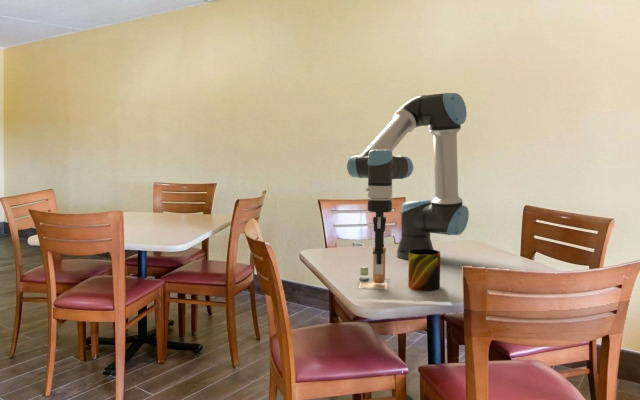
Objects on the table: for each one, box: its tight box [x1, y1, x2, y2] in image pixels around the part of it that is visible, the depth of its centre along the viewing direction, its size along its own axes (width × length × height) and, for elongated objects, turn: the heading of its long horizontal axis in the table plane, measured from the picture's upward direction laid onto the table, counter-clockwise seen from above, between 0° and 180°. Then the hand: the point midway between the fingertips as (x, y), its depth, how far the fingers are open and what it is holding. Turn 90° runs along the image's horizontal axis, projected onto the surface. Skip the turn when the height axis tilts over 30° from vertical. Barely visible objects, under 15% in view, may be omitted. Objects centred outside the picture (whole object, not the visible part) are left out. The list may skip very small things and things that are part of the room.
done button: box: [359, 265, 369, 276], centre depth 162 cm, size 3×3×2 cm
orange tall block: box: [372, 246, 387, 284], centre depth 155 cm, size 4×4×11 cm
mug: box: [407, 249, 441, 292], centre depth 154 cm, size 10×14×12 cm
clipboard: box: [356, 277, 390, 291], centre depth 158 cm, size 10×14×1 cm
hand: (379, 272), depth 155 cm, fingers closed on orange tall block, 3 cm apart
